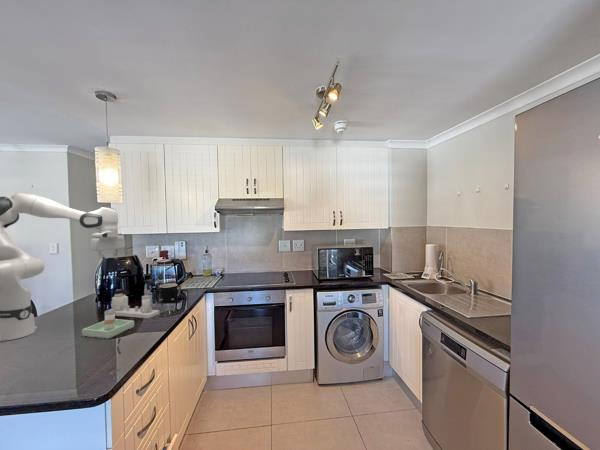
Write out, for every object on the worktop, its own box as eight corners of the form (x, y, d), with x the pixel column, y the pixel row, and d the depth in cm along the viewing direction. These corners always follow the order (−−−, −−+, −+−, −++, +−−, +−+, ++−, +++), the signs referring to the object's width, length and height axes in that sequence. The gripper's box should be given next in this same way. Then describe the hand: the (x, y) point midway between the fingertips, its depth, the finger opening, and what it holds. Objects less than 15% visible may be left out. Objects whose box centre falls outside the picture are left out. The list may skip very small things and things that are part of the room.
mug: (161, 298, 206) (161, 283, 206) (183, 298, 208) (183, 282, 208) (152, 305, 190) (152, 288, 190) (176, 304, 192) (176, 287, 192)
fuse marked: (101, 331, 142) (102, 312, 142) (109, 328, 146) (109, 309, 146) (109, 332, 141) (110, 313, 141) (116, 328, 146) (117, 310, 145)
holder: (104, 314, 170) (104, 306, 170) (116, 310, 179) (116, 302, 179) (149, 318, 164) (149, 310, 164) (159, 313, 173) (159, 305, 172)
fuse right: (139, 312, 167) (140, 296, 167) (145, 310, 172) (145, 294, 172) (146, 313, 167) (146, 297, 166) (151, 311, 171) (151, 295, 171)
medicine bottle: (128, 306, 186) (128, 289, 186) (116, 309, 180) (116, 291, 180) (123, 305, 190) (123, 288, 190) (111, 307, 184) (111, 290, 183)
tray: (82, 336, 137) (82, 329, 137) (109, 324, 153) (109, 318, 153) (108, 339, 134) (108, 331, 134) (134, 326, 150) (134, 320, 150)
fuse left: (112, 310, 171) (112, 294, 171) (118, 308, 176) (118, 293, 176) (118, 311, 170) (118, 295, 170) (124, 308, 175) (124, 293, 175)
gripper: (119, 233, 173) (119, 254, 173) (88, 234, 153) (88, 259, 153) (127, 233, 172) (127, 255, 172) (98, 234, 152) (97, 259, 152)
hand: (109, 257), depth 162 cm, fingers open, 8 cm apart
